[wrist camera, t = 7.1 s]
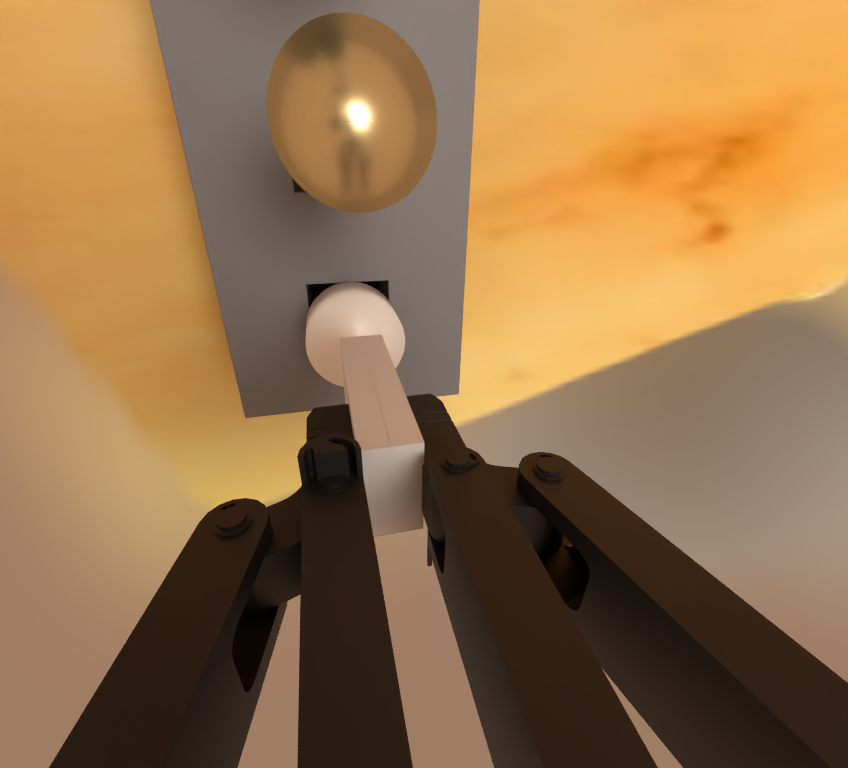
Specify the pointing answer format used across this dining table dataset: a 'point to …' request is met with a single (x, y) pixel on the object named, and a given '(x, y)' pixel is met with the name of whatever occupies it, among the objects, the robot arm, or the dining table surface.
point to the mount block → (306, 216)
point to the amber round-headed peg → (351, 112)
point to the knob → (349, 325)
